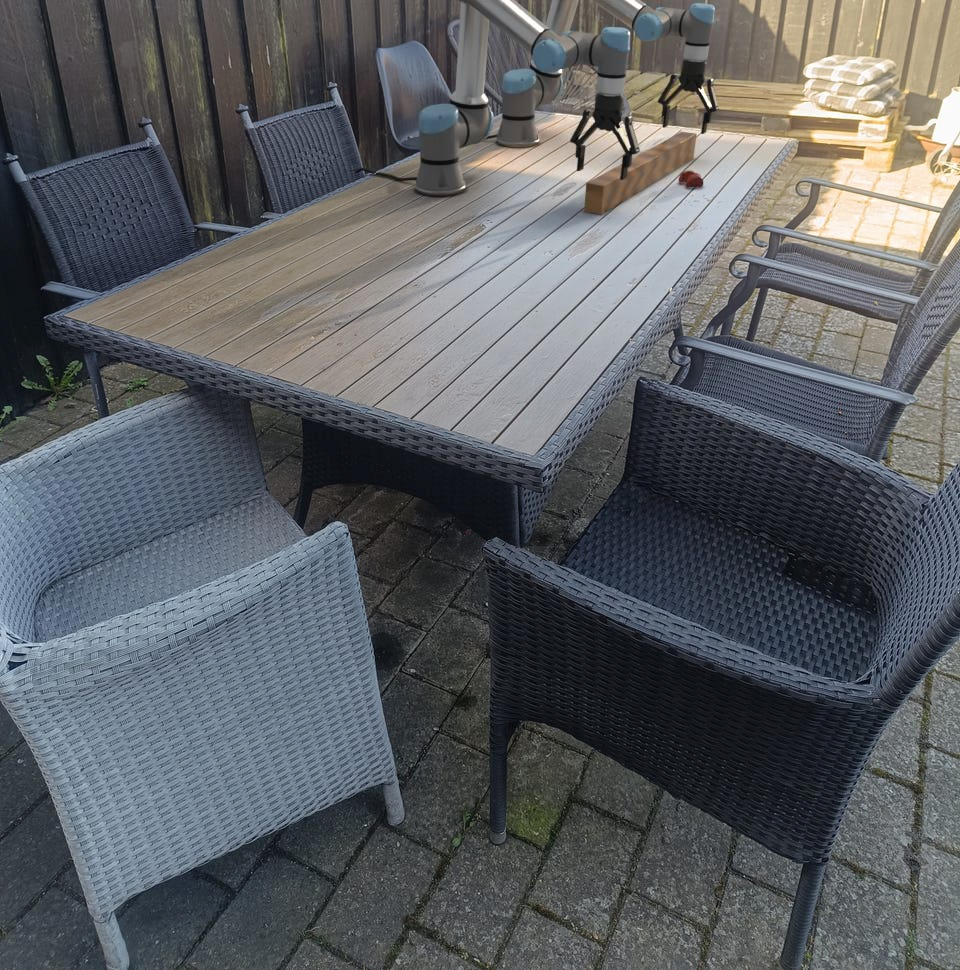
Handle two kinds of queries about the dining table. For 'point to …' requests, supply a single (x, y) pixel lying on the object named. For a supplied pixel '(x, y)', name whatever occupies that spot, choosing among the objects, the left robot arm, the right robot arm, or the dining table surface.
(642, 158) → the bar
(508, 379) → the dining table surface
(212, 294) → the dining table surface
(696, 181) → the dark red rounded lump
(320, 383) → the dining table surface
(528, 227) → the dining table surface
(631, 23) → the right robot arm
